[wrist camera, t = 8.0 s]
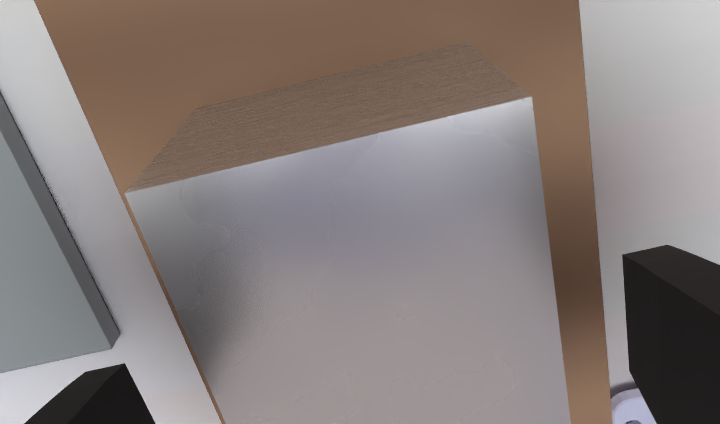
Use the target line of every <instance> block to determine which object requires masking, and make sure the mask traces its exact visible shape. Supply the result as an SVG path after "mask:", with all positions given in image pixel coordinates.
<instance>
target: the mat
mask: <svg viewBox="0 0 720 424" xmlns="http://www.w3.org/2000/svg"><path fill="white" fill-rule="evenodd" d="M119 335H120V333H119V331H118V329H117V327H116V325H115V323H114V321H113V319H112V317H111V315H110V313H109V311H108V309H107V307H106V305H105V303H104V301H103V299H102V297H101V295H100V293H99V291H98V289H97V287H96V285H95V283H94V281H93V279H92V277H91V275H90V273H89V271H88V269H87V267H86V265H85V263H84V261H83V259H82V257H81V255H80V253H79V251H78V249H77V247H76V245H75V243H74V241H73V239H72V237H71V235H70V233H69V231H68V229H67V227H66V225H65V223H64V221H63V219H62V217H61V215H60V213H59V211H58V209H57V206H56V204H55V202H54V200H53V198H52V196H51V194H50V192H49V190H48V188H47V186H46V184H45V182H44V180H43V178H42V176H41V174H40V172H39V170H38V168H37V166H36V164H35V162H34V160H33V158H32V156H31V154H30V152H29V150H28V148H27V146H26V144H25V142H24V140H23V138H22V136H21V134H20V132H19V130H18V128H17V126H16V124H15V122H14V120H13V118H12V116H11V114H10V112H9V110H8V108H7V106H6V104H5V102H4V100H3V98H2V96H1V94H0V373H4V372H8V371H13V370H17V369H22V368H27V367H31V366H36V365H40V364H45V363H49V362H54V361H59V360H63V359H68V358H72V357H77V356H81V355H86V354H91V353H95V352H100V351H104V350H109V349H112V348H113V346H114V344H115V342H116V341H117V339H118V337H119Z"/></svg>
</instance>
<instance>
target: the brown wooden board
mask: <svg viewBox="0 0 720 424" xmlns="http://www.w3.org/2000/svg"><path fill="white" fill-rule="evenodd" d="M34 1H35V4H36V6H37V8H38V10H39V13H40V15H41V17H42V19H43V22H44V24H45V26H46V28H47V31H48V33H49V35H50V37H51V40H52V42H53V44H54V46H55V49H56V51H57V53H58V55H59V58H60V60H61V62H62V64H63V67H64V69H65V71H66V73H67V76H68V78H69V80H70V82H71V85H72V87H73V89H74V91H75V94H76V96H77V98H78V100H79V103H80V105H81V107H82V109H83V112H84V114H85V116H86V118H87V121H88V123H89V125H90V127H91V130H92V132H93V134H94V136H95V139H96V141H97V143H98V145H99V148H100V150H101V152H102V154H103V157H104V159H105V161H106V163H107V166H108V168H109V170H110V173H111V175H112V177H113V179H114V182H115V184H116V186H117V188H118V191H119V193H120V195H121V197H122V200H123V202H124V204H125V206H126V209H127V211H128V213H129V215H130V218H131V220H132V222H133V224H134V227H135V229H136V231H137V233H138V236H139V238H140V240H141V242H142V245H143V247H144V249H145V251H146V254H147V256H148V258H149V260H150V263H151V265H152V267H153V269H154V272H155V274H156V276H157V278H158V281H159V283H160V285H161V287H162V290H163V292H164V294H165V296H166V299H167V301H168V303H169V305H170V308H171V310H172V312H173V314H174V317H175V319H176V321H177V323H178V326H179V328H180V330H181V332H182V335H183V337H184V339H185V341H186V344H187V346H188V348H189V350H190V353H191V355H192V357H193V359H194V362H195V364H196V366H197V368H198V371H199V373H200V375H201V377H202V380H203V382H204V384H205V386H206V389H207V391H208V393H209V395H210V398H211V400H212V402H213V404H214V407H215V409H216V411H217V413H218V416H219V418H220V420H221V422H222V424H226V423H225V421H224V419H223V416H222V414H221V412H220V409H219V407H218V405H217V403H216V400H215V398H214V396H213V394H212V391H211V389H210V387H209V384H208V382H207V380H206V378H205V375H204V373H203V371H202V369H201V366H200V364H199V362H198V360H197V357H196V355H195V353H194V350H193V348H192V346H191V344H190V341H189V339H188V337H187V335H186V332H185V330H184V328H183V325H182V323H181V321H180V319H179V316H178V314H177V312H176V310H175V307H174V305H173V303H172V301H171V298H170V296H169V294H168V291H167V289H166V287H165V285H164V282H163V280H162V278H161V276H160V273H159V271H158V269H157V267H156V264H155V262H154V260H153V257H152V255H151V253H150V251H149V248H148V246H147V244H146V242H145V239H144V237H143V235H142V232H141V230H140V228H139V226H138V223H137V221H136V219H135V217H134V214H133V212H132V210H131V208H130V205H129V203H128V201H127V198H126V196H125V192H126V191H127V190H128V189H129V188H130V186H131V185H132V184H133V183H134V182H135V181H136V179H137V178H138V177H139V176H140V175H141V173H142V172H143V171H144V170H145V169H146V168H147V166H148V165H149V164H150V163H151V162H152V160H153V159H154V158H155V157H156V156H157V154H158V153H159V152H160V151H161V150H162V149H163V147H164V146H165V145H166V144H167V143H168V141H169V140H170V139H171V138H172V137H173V136H174V134H175V133H176V132H177V131H178V130H179V128H180V127H181V126H182V125H183V124H184V122H185V121H186V120H187V119H188V118H189V117H190V115H191V114H192V113H193V112H194V111H195V109H196V108H200V107H204V106H208V105H212V104H216V103H220V102H224V101H228V100H232V99H236V98H240V97H244V96H248V95H252V94H256V93H261V92H265V91H269V90H273V89H277V88H281V87H285V86H289V85H293V84H297V83H301V82H305V81H309V80H313V79H317V78H321V77H325V76H329V75H333V74H337V73H342V72H346V71H350V70H354V69H358V68H362V67H366V66H370V65H374V64H378V63H382V62H386V61H390V60H394V59H398V58H402V57H406V56H410V55H414V54H419V53H423V52H427V51H431V50H435V49H439V48H443V47H447V46H451V45H455V44H459V43H463V42H467V43H469V44H470V45H471V46H472V47H473V48H475V49H476V50H477V51H478V52H479V53H481V54H482V55H483V56H484V57H485V58H487V59H488V60H489V61H490V62H491V63H492V64H494V65H495V66H496V67H497V68H498V69H500V70H501V71H502V72H503V73H504V74H506V75H507V76H508V77H509V78H510V79H512V80H513V81H514V82H515V83H516V84H517V85H519V86H520V87H521V88H522V89H523V90H525V91H526V92H527V93H528V94H529V95H531V96H532V102H533V110H534V119H535V127H536V135H537V144H538V152H539V161H540V169H541V177H542V186H543V194H544V202H545V211H546V219H547V228H548V236H549V244H550V253H551V261H552V270H553V278H554V286H555V295H556V303H557V311H558V320H559V328H560V337H561V345H562V353H563V362H564V370H565V379H566V387H567V395H568V404H569V412H570V421H571V424H613V422H612V409H611V397H610V384H609V372H608V359H607V347H606V335H605V322H604V310H603V297H602V285H601V272H600V260H599V247H598V235H597V223H596V210H595V198H594V185H593V173H592V160H591V148H590V135H589V123H588V110H587V98H586V86H585V73H584V61H583V48H582V36H581V23H580V11H579V0H34Z"/></svg>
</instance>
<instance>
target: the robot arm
mask: <svg viewBox="0 0 720 424" xmlns="http://www.w3.org/2000/svg"><path fill="white" fill-rule="evenodd" d="M622 256H623V273H624V289H625V306H626V323H627V340H628V356H629V371H630V373H631V375H632V377H633V379H634V381H635V383H636V385H637V387H638V388H636V389H631V390H626V391H623V392H620V393H617V394H616V395H615V396H613V397H612V398H611V409H612V422H613V424H625V423H626V422H628V421H631V420H633V421H632V422H630V423H627V424H720V265H718V264H715V263H713V262H711V261H708V260H706V259H703V258H701V257H699V256H696V255H694V254H691V253H689V252H686V251H683V250H681V249H678V248H675V247H672V246H669V245H665V246H660V247H655V248H651V249H646V250H642V251H637V252H633V253H628V254H623V255H622ZM24 424H155V422H154V420H153V418H152V416H151V414H150V412H149V410H148V408H147V406H146V404H145V402H144V400H143V398H142V396H141V394H140V392H139V390H138V388H137V386H136V385H135V383H134V381H133V379H132V377H131V375H130V373H129V371H128V369H127V367H126V365H125V363H124V364H120V365H115V366H111V367H106V368H102V369H97V370H92V371H88V372H85V373H84V374H82V375H81V376H80V377H78V378H77V379H76V380H74V381H73V382H72V383H70V384H69V385H68V386H67V387H66V388H64V389H63V390H62V391H61V392H60V393H58V394H57V395H56V396H55V397H54V398H53V399H51V400H50V401H49V402H48V403H47V404H46V405H45V406H43V407H42V408H41V409H40V410H39V411H38V412H37V413H36V414H34V415H33V416H32V417H31V418H30V419H29V420H28V421H27V422H26V423H24Z"/></svg>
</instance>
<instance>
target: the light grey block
mask: <svg viewBox="0 0 720 424" xmlns="http://www.w3.org/2000/svg"><path fill="white" fill-rule="evenodd" d="M125 196H126V198H127V201H128V203H129V205H130V208H131V210H132V212H133V214H134V217H135V219H136V221H137V223H138V226H139V228H140V230H141V232H142V235H143V237H144V239H145V242H146V244H147V246H148V248H149V251H150V253H151V255H152V257H153V260H154V262H155V264H156V267H157V269H158V271H159V273H160V276H161V278H162V280H163V282H164V285H165V287H166V289H167V291H168V294H169V296H170V298H171V301H172V303H173V305H174V307H175V310H176V312H177V314H178V316H179V319H180V321H181V323H182V325H183V328H184V330H185V332H186V335H187V337H188V339H189V341H190V344H191V346H192V348H193V350H194V353H195V355H196V357H197V360H198V362H199V364H200V366H201V369H202V371H203V373H204V375H205V378H206V380H207V382H208V384H209V387H210V389H211V391H212V394H213V396H214V398H215V400H216V403H217V405H218V407H219V409H220V412H221V414H222V416H223V419H224V421H225V423H226V424H571V421H570V412H569V404H568V395H567V387H566V379H565V370H564V362H563V353H562V345H561V337H560V328H559V320H558V311H557V303H556V295H555V286H554V278H553V270H552V261H551V253H550V244H549V236H548V228H547V219H546V211H545V202H544V194H543V186H542V177H541V169H540V161H539V152H538V144H537V135H536V127H535V119H534V110H533V102H532V96H531V95H529V94H528V93H527V92H526V91H525V90H523V89H522V88H521V87H520V86H519V85H517V84H516V83H515V82H514V81H513V80H512V79H510V78H509V77H508V76H507V75H506V74H504V73H503V72H502V71H501V70H500V69H498V68H497V67H496V66H495V65H494V64H492V63H491V62H490V61H489V60H488V59H487V58H485V57H484V56H483V55H482V54H481V53H479V52H478V51H477V50H476V49H475V48H473V47H472V46H471V45H470V44H469V43H467V42H463V43H459V44H455V45H451V46H447V47H443V48H439V49H435V50H431V51H427V52H423V53H419V54H414V55H410V56H406V57H402V58H398V59H394V60H390V61H386V62H382V63H378V64H374V65H370V66H366V67H362V68H358V69H354V70H350V71H346V72H342V73H337V74H333V75H329V76H325V77H321V78H317V79H313V80H309V81H305V82H301V83H297V84H293V85H289V86H285V87H281V88H277V89H273V90H269V91H265V92H261V93H256V94H252V95H248V96H244V97H240V98H236V99H232V100H228V101H224V102H220V103H216V104H212V105H208V106H204V107H200V108H196V109H195V111H194V112H193V113H192V114H191V115H190V117H189V118H188V119H187V120H186V121H185V122H184V124H183V125H182V126H181V127H180V128H179V130H178V131H177V132H176V133H175V134H174V136H173V137H172V138H171V139H170V140H169V141H168V143H167V144H166V145H165V146H164V147H163V149H162V150H161V151H160V152H159V153H158V154H157V156H156V157H155V158H154V159H153V160H152V162H151V163H150V164H149V165H148V166H147V168H146V169H145V170H144V171H143V172H142V173H141V175H140V176H139V177H138V178H137V179H136V181H135V182H134V183H133V184H132V185H131V186H130V188H129V189H128V190H127V191H126V192H125Z"/></svg>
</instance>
